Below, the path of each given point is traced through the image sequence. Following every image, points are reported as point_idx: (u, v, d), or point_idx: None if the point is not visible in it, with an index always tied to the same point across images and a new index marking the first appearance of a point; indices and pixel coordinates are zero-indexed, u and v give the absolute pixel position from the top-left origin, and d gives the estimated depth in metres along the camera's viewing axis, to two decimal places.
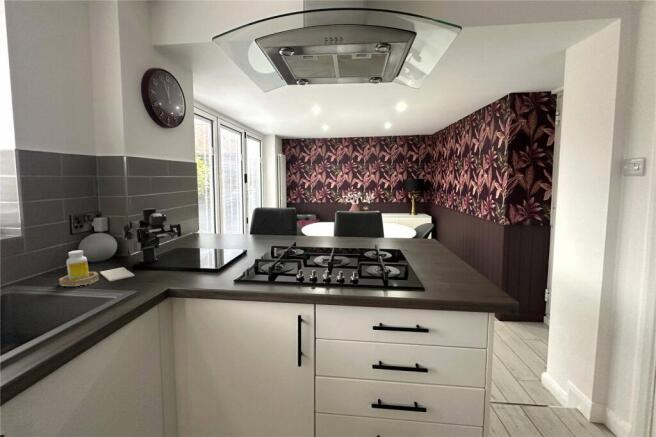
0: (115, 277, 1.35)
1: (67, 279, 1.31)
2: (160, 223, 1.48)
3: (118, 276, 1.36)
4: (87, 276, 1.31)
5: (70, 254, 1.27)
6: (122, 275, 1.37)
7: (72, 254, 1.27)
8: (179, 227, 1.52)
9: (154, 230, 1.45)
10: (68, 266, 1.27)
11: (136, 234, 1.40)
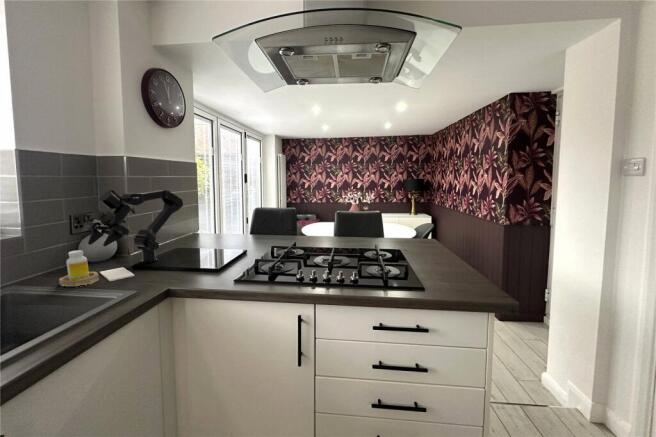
0: (115, 277, 1.35)
1: (67, 279, 1.31)
2: (106, 220, 1.38)
3: (118, 276, 1.36)
4: (87, 276, 1.31)
5: (70, 254, 1.27)
6: (122, 275, 1.37)
7: (72, 254, 1.27)
8: (119, 230, 1.36)
9: (103, 226, 1.41)
10: (68, 266, 1.27)
11: None
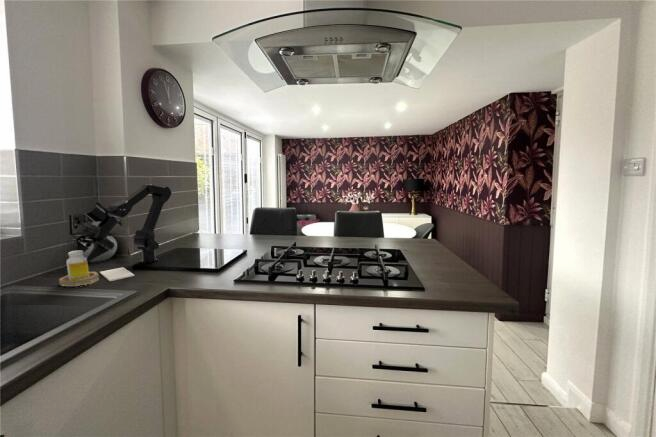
0: (115, 277, 1.35)
1: (67, 279, 1.31)
2: (90, 234, 1.33)
3: (118, 276, 1.36)
4: (87, 276, 1.31)
5: (70, 254, 1.27)
6: (122, 275, 1.37)
7: (72, 254, 1.27)
8: (103, 244, 1.31)
9: (88, 240, 1.35)
10: (68, 266, 1.27)
11: None
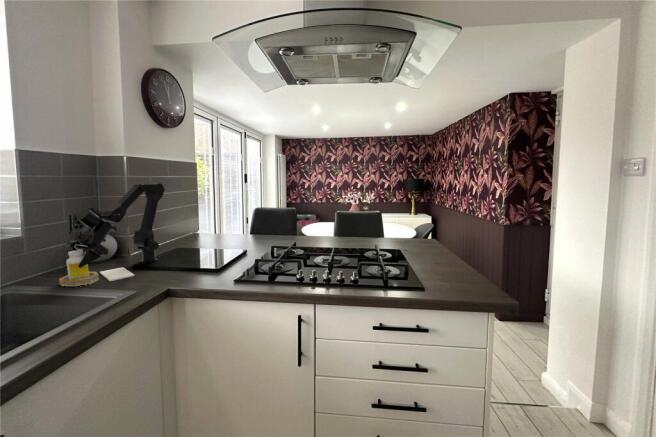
0: (115, 277, 1.35)
1: (67, 279, 1.31)
2: (84, 240, 1.31)
3: (118, 276, 1.36)
4: (87, 276, 1.31)
5: (70, 254, 1.27)
6: (122, 275, 1.37)
7: (72, 254, 1.27)
8: (97, 250, 1.29)
9: (82, 246, 1.33)
10: (68, 266, 1.27)
11: (70, 246, 1.36)
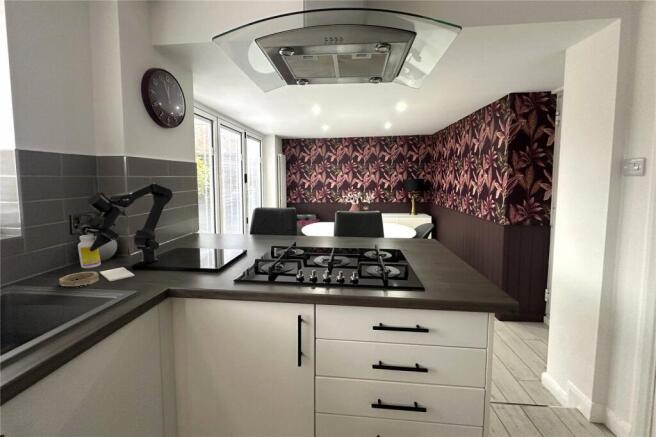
0: (115, 277, 1.35)
1: (67, 279, 1.31)
2: (94, 225, 1.33)
3: (118, 276, 1.36)
4: (98, 260, 1.33)
5: (81, 238, 1.29)
6: (122, 275, 1.37)
7: (83, 238, 1.29)
8: (108, 234, 1.31)
9: (92, 230, 1.35)
10: (80, 250, 1.29)
11: None
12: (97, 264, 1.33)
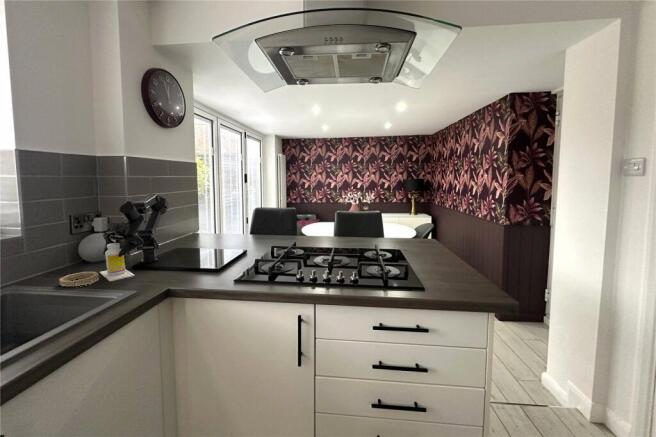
0: (115, 277, 1.35)
1: (67, 279, 1.31)
2: (120, 231, 1.40)
3: (118, 276, 1.36)
4: (123, 267, 1.40)
5: (109, 246, 1.36)
6: (122, 275, 1.37)
7: (110, 246, 1.36)
8: (133, 240, 1.38)
9: (118, 236, 1.42)
10: (107, 257, 1.36)
11: None
12: (122, 271, 1.40)
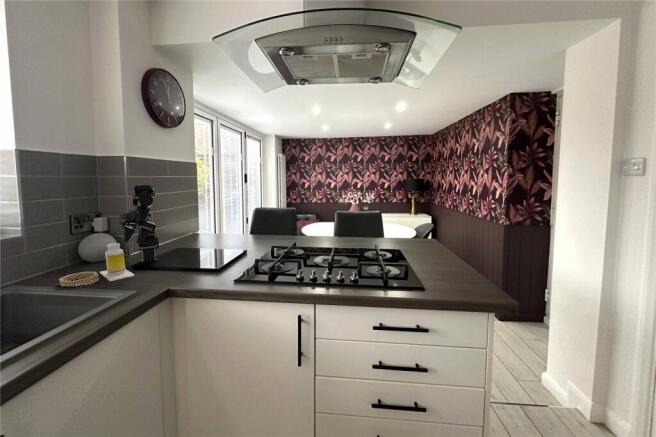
0: (115, 277, 1.35)
1: (67, 279, 1.31)
2: (132, 219, 1.44)
3: (118, 276, 1.36)
4: (123, 267, 1.40)
5: (109, 246, 1.36)
6: (122, 275, 1.37)
7: (110, 246, 1.36)
8: (146, 227, 1.42)
9: (132, 224, 1.47)
10: (107, 257, 1.36)
11: None
12: (122, 271, 1.40)
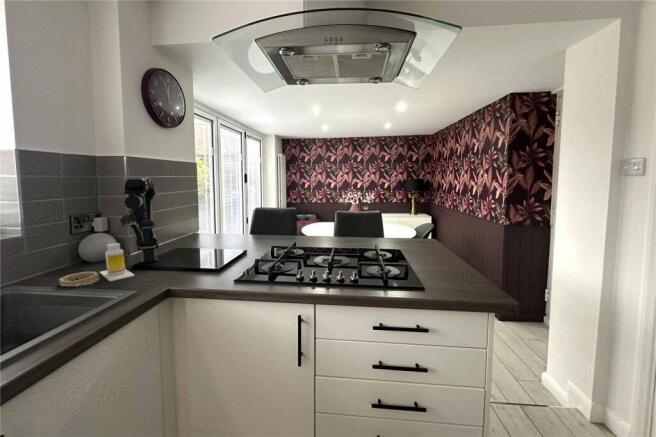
0: (115, 277, 1.35)
1: (67, 279, 1.31)
2: None
3: (118, 276, 1.36)
4: (123, 267, 1.40)
5: (109, 246, 1.36)
6: (122, 275, 1.37)
7: (111, 246, 1.36)
8: (143, 227, 1.38)
9: None
10: (107, 257, 1.36)
11: None
12: (122, 271, 1.40)
